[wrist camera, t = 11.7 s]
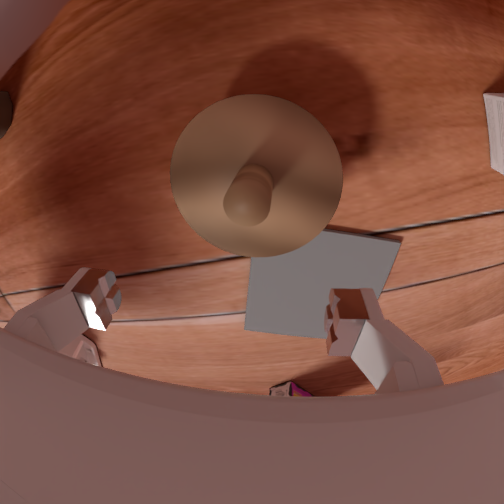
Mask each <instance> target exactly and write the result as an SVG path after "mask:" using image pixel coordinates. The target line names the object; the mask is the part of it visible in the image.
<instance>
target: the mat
mask: <svg viewBox="0 0 504 504" xmlns="http://www.w3.org/2000/svg"><path fill="white" fill-rule="evenodd" d="M400 244H401V243H400V241H399V240H393V239H387V238H381V237H375V236H369V235H363V234H356V233H350V232H343V231H337V230H330V229H323V230H322V231H321V233H320V234H319V235H317V236H316V237H315V238H314V239H313V240H311V241H310V242H308V243H307V244H305V245H304V246H302V247H300V248H298V249H296V250H294V251H291V252H288V253H286V254H282V255H278V256H272V257H251V267H250V277H249V287H248V297H247V307H246V317H245V327H244V330H249V331H257V332H265V333H273V334H282V335H291V336H301V337H311V338H323V339H327V336H328V334H327V333H326V332H325V329H324V316H325V310H326V306H327V305H328V304H330V302H329V293H330V290H331V288H351V289H358V288H372V289H373V290H374V293H375V295H376V298H377V300H378V298H379V296H380V293H381V291H382V289H383V287H384V284H385V282H386V280H387V277H388V275H389V272H390V270H391V268H392V265H393V263H394V260H395V258H396V255H397V252H398V250H399V247H400Z"/></svg>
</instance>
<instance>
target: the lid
mask: <svg viewBox="0 0 504 504" xmlns="http://www.w3.org/2000/svg"><path fill="white" fill-rule="evenodd" d="M170 183H171V188H172V193H173V196H174V199H175V202H176V205H177V207H178V209H179V211H180V213H181V214H182V216H183V217H184V219H185V220H186V222H187V223H188V224H189V225H190V227H191V228H192V229H193V230H194V231H195V232H196V233H197V234H198V235H199V236H201V237H202V238H203V239H205V240H206V241H207V242H209V243H211V244H212V245H214V246H215V247H218V248H220V249H222V250H224V251H227V252H230V253H233V254H236V255H241V256H247V257H272V256H278V255H282V254H286V253H288V252H291V251H294V250H296V249H298V248H300V247H302V246H304V245H305V244H307V243H308V242H310V241H311V240H313V239H314V238H315V237H316V236H317V235H319V234H320V233H321V231H322V230H323V229H324V228H325V227H326V226H327V224H328V223H329V222H330V220H331V219H332V217H333V215H334V213H335V211H336V209H337V207H338V204H339V201H340V198H341V192H342V187H343V172H342V164H341V160H340V156H339V153H338V150H337V148H336V145H335V143H334V141H333V139H332V138H331V136H330V134H329V133H328V131H327V130H326V129H325V128H324V126H323V125H322V124H321V123H320V122H319V121H318V120H317V119H316V118H315V117H314V116H313V115H312V114H310V113H309V112H308V111H306V110H305V109H303V108H302V107H300V106H298V105H296V104H294V103H292V102H291V101H288V100H285V99H282V98H279V97H275V96H270V95H262V94H247V95H238V96H234V97H229V98H226V99H224V100H221V101H218V102H216V103H214V104H212V105H211V106H209V107H207V108H206V109H204V110H203V111H201V112H200V113H199V114H197V115H196V116H195V117H194V118H193V119H192V120H191V121H190V122H189V124H188V125H187V126H186V127H185V129H184V130H183V131H182V133H181V135H180V137H179V139H178V140H177V143H176V145H175V148H174V151H173V154H172V159H171V166H170Z"/></svg>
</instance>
